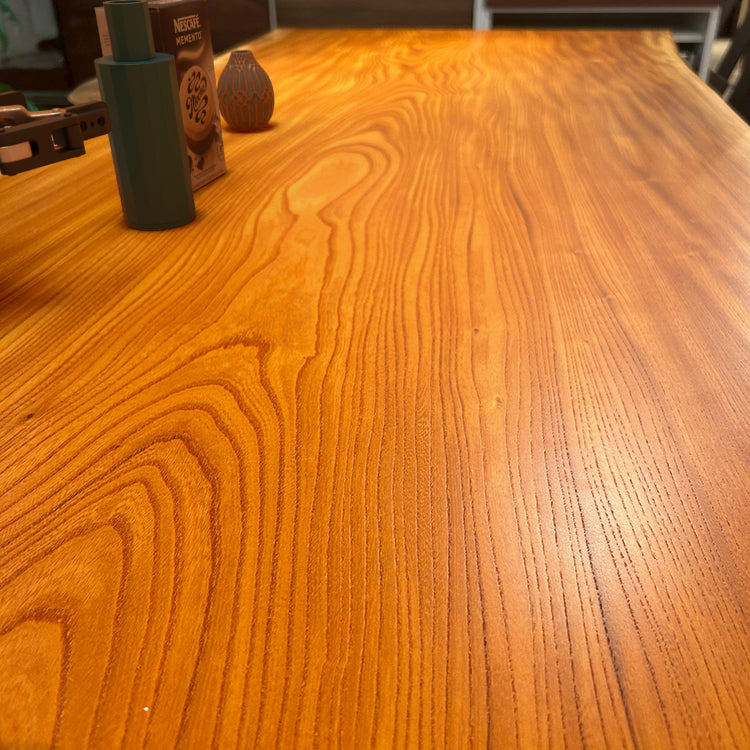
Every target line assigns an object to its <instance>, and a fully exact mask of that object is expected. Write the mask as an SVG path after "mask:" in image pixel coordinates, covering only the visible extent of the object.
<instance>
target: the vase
mask: <svg viewBox="0 0 750 750" xmlns="http://www.w3.org/2000/svg"><path fill="white" fill-rule="evenodd" d="M216 86H217V95H218V103H219V111H220V116H221V117H222V119H223V121H224V122H225V123H226V124H227V125H228V126H229V127H230V128H231V129H232V130H235V131H240V132H250V131H258V130H262V129H264V128H265V127H267V125H268V123H269V122H270V121H271V119H272V118H273V115H274V111H275V104H276V103H275V100H276V99H275V90H274V86H273V83H272V80H271V78H270V76H269V74H268V72H266V70H265V69H264V68H263V67H262V65H261V64H260V63H259V62H258V60H257V59H256V57H255V56H254V54H253V51H252V50H250V49H235V50H232V51H230V55H229V58H228V60H227V62H226V64H225V66H224V67H223V69H222V71H221V73H220V74H219V77H218V80H217V83H216Z"/></svg>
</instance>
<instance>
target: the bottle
mask: <svg viewBox="0 0 750 750" xmlns="http://www.w3.org/2000/svg"><path fill="white" fill-rule="evenodd" d="M102 7H104V11H105V17H106V23H107V28H108V34H109V39H110V45H111V50H112V55H110V56H104V57H103V56H101V57H98V58H95V59H94V61H93V63H94V64H93V65H94V69H95V74H96V80H97V85H98V90H99V95H100V101H103V102H105V103H106V104H107V106H108V111H109V116H110V121H111V131H110V133H109V134H107V136H108V142H109V147H110V153H111V159H112V164H113V169H114V173H115V174H114V175H115V179H116V184H117V190H118V195H119V199H120V205H121V210H122V215H123V218H124V223H125V225H126V226H127V227H130V228H132V229H135V230H140V231H161V230H162V231H163V230H170V229H173V228H179V227H182V226H185V225H187V224H190V223H191V222H193V221H195V219H196V217H197V210H196V201H195V194H194V191H193V187H192V180H191V173H190V166H189V159H188V152H187V145H186V138H185V131H184V124H183V117H182V109H181V102H180V95H179V88H178V81H177V74H176V67H175V60H174V55H171V54H168V53H157V52H155V48H154V42H153V35H152V28H151V22H150V15H149V9H148V2H147V1H146V0H106V1H103V2H102Z"/></svg>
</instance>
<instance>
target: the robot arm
mask: <svg viewBox="0 0 750 750" xmlns="http://www.w3.org/2000/svg"><path fill="white" fill-rule="evenodd" d="M110 131H111V121H110V116H109V111H108V106H107V104H106V103H105V102H103V101H101V100H91V101H87V102H83V103H78V104H74V105H71V106H66V107H63V108H60V107H53V108H51V109H48V110H38V111H37V110H36V111H29V109H28V104H27V100H26V96H25V94H24V93H23V92H21V91H17V90H10V91H5V92H0V175H2V176H8V177H14V176H17V175H19V174H23V173H26V172H30V171H32V170H37V169H39V168H43V167H47V166H50V165H55V164H57V163H61V162H64V161H68V160H71V159H75V158H81V156H85V155H86V154H87V151H86V147H85V141H88V140H93V139H95V138H98V137H103V136H105V135H108V134H109V133H110Z"/></svg>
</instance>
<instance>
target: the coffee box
mask: <svg viewBox="0 0 750 750" xmlns="http://www.w3.org/2000/svg"><path fill="white" fill-rule="evenodd" d="M146 1H147V2H148V9H149V15H150V22H151V28H152V35H153V42H154V48H155V52H157V53H168V54H171V55H174V60H175V67H176V74H177V81H178V88H179V95H180V102H181V109H182V117H183V124H184V131H185V138H186V145H187V152H188V159H189V166H190V173H191V180H192V187H193V192H195V191H197V190H198V189H200V188H202V187H203V186H205V185H207V184H208V183H210V182H212V181H213V180H215V179H216V178H218V177H220V176H221V175H223V174H225V173H226V172H227V163H226V156H225V155H226V154H225V146H224V138H223V128H222V119H221V113H220V110H219V103H218V95H217V79H216V72H215V71H216V70H215V69H216V68H215V61H214V54H213V53H214V52H213V44H212V34H211V27H210V18H209V10H208V0H146ZM94 12H95V19H96V24H97V31H98V35H99V42H100V48H101V53H102V57H104V56H110V55H112V50H111V45H110V39H109V34H108V28H107V23H106V17H105V11H104V6H97V7H94Z"/></svg>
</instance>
